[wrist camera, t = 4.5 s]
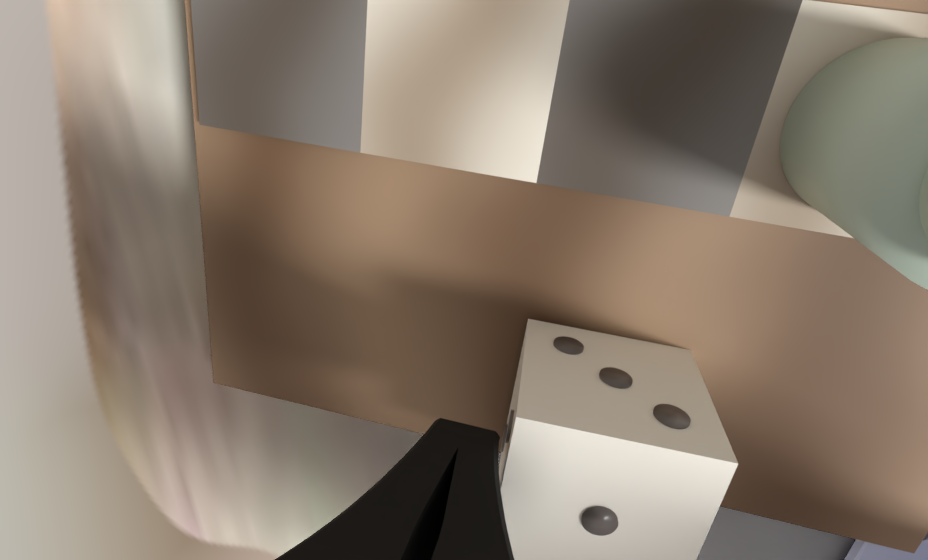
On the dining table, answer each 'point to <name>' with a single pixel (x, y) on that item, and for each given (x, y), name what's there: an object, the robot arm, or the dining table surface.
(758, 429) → the board
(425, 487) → the robot arm
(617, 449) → the die
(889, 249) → the pawn
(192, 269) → the dining table surface
